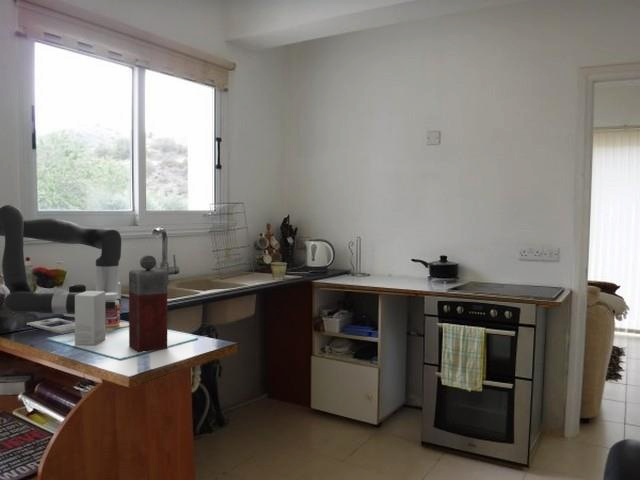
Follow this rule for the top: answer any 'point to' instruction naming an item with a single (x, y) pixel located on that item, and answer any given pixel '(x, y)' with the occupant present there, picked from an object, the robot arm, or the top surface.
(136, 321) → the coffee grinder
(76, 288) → the medicine bottle
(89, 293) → the skincare box
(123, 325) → the coaster
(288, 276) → the top surface
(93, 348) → the top surface
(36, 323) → the white rectangular panel
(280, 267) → the ceramic cup
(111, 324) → the pill bottle
